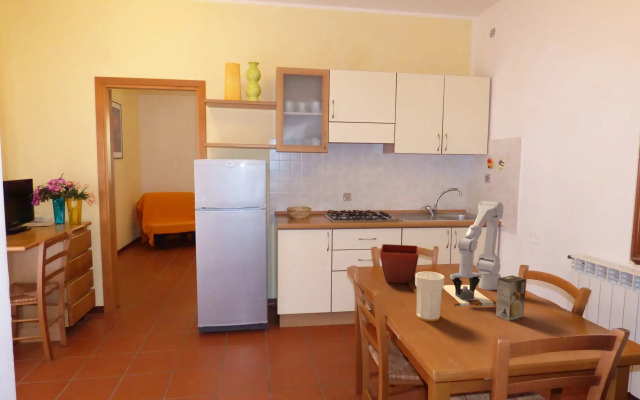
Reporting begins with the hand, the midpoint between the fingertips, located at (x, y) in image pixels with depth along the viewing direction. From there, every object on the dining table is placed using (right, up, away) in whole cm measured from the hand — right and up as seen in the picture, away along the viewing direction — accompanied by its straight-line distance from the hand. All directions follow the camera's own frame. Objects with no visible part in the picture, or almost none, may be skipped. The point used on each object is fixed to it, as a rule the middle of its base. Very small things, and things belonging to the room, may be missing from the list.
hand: (464, 293), depth 177 cm
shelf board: (+2, -3, +6) cm, 6 cm away
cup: (-22, -5, -18) cm, 29 cm away
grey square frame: (0, -2, 0) cm, 2 cm away
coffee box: (+12, -6, -17) cm, 21 cm away
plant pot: (-24, 0, +30) cm, 38 cm away
